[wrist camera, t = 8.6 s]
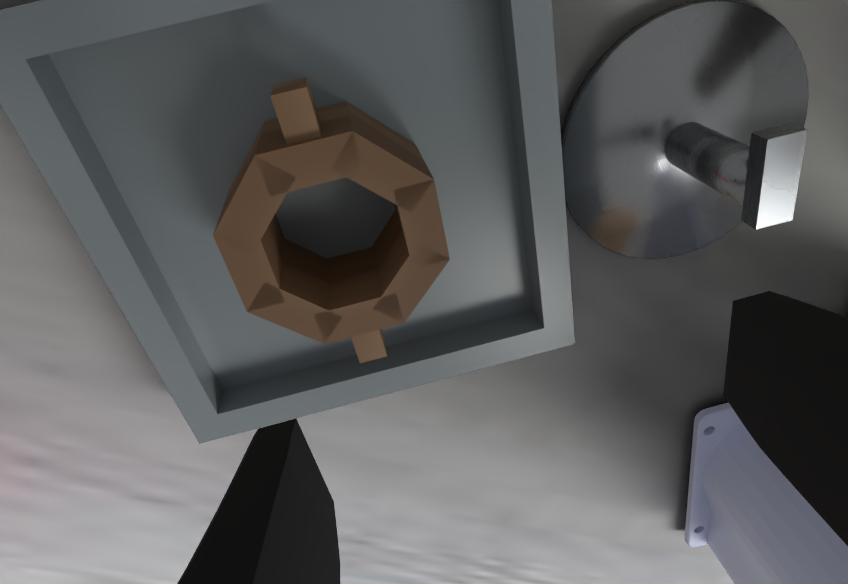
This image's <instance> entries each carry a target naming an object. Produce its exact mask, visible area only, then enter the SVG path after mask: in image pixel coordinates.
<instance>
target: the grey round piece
mask: <svg viewBox="0 0 848 584" xmlns="http://www.w3.org/2000/svg"><path fill="white" fill-rule="evenodd" d="M807 106H808V79H807V73H806V67H805V63H804V60H803V57H802V54H801V51H800V49H799V48H798V46H797V44H796V42H795V40H794V38H793V37H792V36H791V34H790V33H789V32H788V31H787V29H786V28H785V27H784V26H783V25H782V24H781V23H780V22H778V21H777V20H776V19H775V18H774V17H772V16H771V15H769V14H767V13H765V12H764V11H762V10H760V9H758V8H755V7H752V6H749V5H746V4H741V3H734V2H727V1H699V2H693V3H687V4H683V5H680V6H677V7H674V8H671V9H668V10H665V11H663V12H661V13H659V14H657V15H655V16H653V17H651V18H649V19H647V20H646V21H644V22H642V23H641V24H639V25H638V26H636V27H634V28H633V29H632V30H631V31H629V32H628V33H627V34H626V35H624V36H623V37H622V38H621V39H619V40H618V41H617V42H616V43H615V44H614V45H613V46H612V47H611V48H610V49H609V50H608V51H607V52H606V53H605V54H604V55H603V56H602V57H601V59H600V60H599V61H598V62H597V64H596V65H595V66H594V67H593V69H592V70H591V71H590V73H589V74H588V76H587V77H586V79H585V80H584V82H583V83H582V85H581V87H580V88H579V90H578V92H577V94H576V96H575V98H574V100H573V102H572V104H571V107H570V110H569V112H568V115H567V118H566V120H565V124H564V128H563V132H562V136H561V145H562V160H563V174H564V189H565V201H566V203H567V206H568V208H569V210H570V212H571V214H572V215H573V217H574V218H575V220H576V221H577V223H578V224H579V225H580V226H581V227H582V228H583V229H584V230H585V231H586V232H587V233H588V234H589V235H590V236H591V237H592V238H593V239H594V240H595V241H597V242H598V243H599V244H601V245H602V246H604V247H606V248H608V249H610V250H611V251H613V252H616V253H619V254H622V255H625V256H630V257H635V258H647V259H655V258H667V257H672V256H677V255H681V254H684V253H687V252H690V251H694V250H696V249H698V248H701V247H703V246H705V245H708V244H710V243H711V242H713V241H715V240H717V239H719V238H720V237H722V236H724V235H725V234H727V233H728V232H730V231H731V230H732V229H734V228H735V227H737V226H738V225H739V224H740V223H741V222H745V223H746V224H748V225H750V226H751V227H753V228H754V229H760V228H764V227H768V226H771V225H775V224H779V223H783V222H787V221H791V220H793V214H794V208H795V202H796V196H797V190H798V184H799V178H800V172H801V166H802V160H803V154H804V148H805V142H806V136H807V130H808V129H805V128H804V124H805V119H806V115H807Z"/></svg>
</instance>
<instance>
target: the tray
mask: <svg viewBox="0 0 848 584" xmlns="http://www.w3.org/2000/svg"><path fill="white" fill-rule="evenodd" d="M304 77H307V78H308V82H309V85H310V88H311V92H312V95H313V99H314V102H315V105H316V109H317V108H321V107H325V106H329V105H333V104H337V103H341V102H345V101H347V102H348V103H350V104H352V105H353V106H355V107H356V108H358V109H360V110H361V111H363V112H364V113H366V114H368V115H369V116H371V117H373V118H374V119H376V120H377V121H379V122H381V123H382V124H384V125H386V126H387V127H389V128H390V129H392V130H394V131H395V132H397V133H399V134H400V135H402V136H403V137H405V138H407V139H408V140H410V141H412V142H413V143H415V144H416V146H417V148H418V150H419V152H420V154H421V156H422V157H423V159H424V161H425V163H426V165H427V167H428V169H429V171H430V173H431V175H432V176H433V178H434V182H435V187H436V192H437V197H438V202H439V207H440V212H441V217H442V222H443V227H444V232H445V237H446V242H447V247H448V252H449V257H450V260H449V262H448V263H447V264H446V266H445V267H444V268H443V270H442V271H441V273H440V274H439V275H438V277H437V278H436V280H435V281H434V282H433V284H432V285H431V287H430V288H429V289H428V291H427V292H426V294H425V295H424V296H423V298H422V299H421V300H420V302H419V303H418V305H417V306H416V307H415V309H414V310H413V312H412V313H411V314H410V316H409V317H408V319H407V320H406V321H405V323H403V324H399V325H395V326H392V327H388V328H384V329H382V332H383V336H384V342H385V347H386V353H387V356H386V357H382V358H379V359H375V360H371V361H367V362H364V363H360V362H359V359H358V356H357V353H356V350H355V347H354V344H353V341H352V338H351V337H350V338H346V339H342V340H338V341H334V342H331V343H327V344H323V343H321V342H318V341H316V340H314V339H311V338H309V337H306V336H304V335H301V334H299V333H297V332H294V331H292V330H289V329H287V328H285V327H282V326H280V325H277V324H275V323H272V322H270V321H268V320H265V319H263V318H260V317H258V316H256V315H253V314H251V313H248V312H247V311H246V309H245V306H244V304H243V302H242V300H241V297H240V295H239V293H238V291H237V288H236V286H235V284H234V282H233V279H232V277H231V275H230V273H229V270H228V268H227V266H226V264H225V262H224V259H223V257H222V255H221V253H220V250H219V248H218V246H217V244H216V241H215V239H214V237H213V234H214V231H215V228H216V225H217V222H218V220H219V217H220V214H221V211H222V208H223V205H224V203H225V200H226V197H227V194H228V191H229V189H230V187H231V185H232V183H233V181H234V180H235V178H236V176H237V174H238V172H239V170H240V168H241V166H242V164H243V162H244V160H245V158H246V156H247V154H248V152H249V151H250V149H251V147H252V145H253V143H254V141H255V139H256V137H257V135H258V133H259V131H260V129H261V127H262V125H263V124H264V122H265V121H268V120H272V119H276V118H278V117H277V114H276V111H275V108H274V105H273V102H272V99H271V96H270V95H271V92H272V89H273V85H275V84H279V83H283V82H287V81H291V80H295V79H299V78H304ZM0 105H1V106H2V108H3V110H4V112H5V113H6V115H7V117H8V118H9V120H10V122H11V123H12V125H13V127H14V129H15V130H16V132H17V134H18V135H19V137H20V139H21V141H22V142H23V144H24V146H25V147H26V149H27V151H28V152H29V154H30V156H31V158H32V159H33V161H34V163H35V164H36V166H37V168H38V169H39V171H40V173H41V175H42V176H43V178H44V180H45V181H46V183H47V185H48V186H49V188H50V190H51V192H52V193H53V195H54V197H55V198H56V200H57V202H58V204H59V205H60V207H61V209H62V210H63V212H64V214H65V215H66V217H67V219H68V221H69V222H70V224H71V226H72V227H73V229H74V231H75V232H76V234H77V236H78V238H79V239H80V241H81V243H82V244H83V246H84V248H85V249H86V251H87V253H88V255H89V256H90V258H91V260H92V261H93V263H94V265H95V267H96V268H97V270H98V272H99V273H100V275H101V277H102V278H103V280H104V282H105V284H106V285H107V287H108V289H109V290H110V292H111V294H112V295H113V297H114V299H115V301H116V302H117V304H118V306H119V307H120V309H121V311H122V312H123V314H124V316H125V318H126V319H127V321H128V323H129V324H130V326H131V328H132V330H133V331H134V333H135V335H136V336H137V338H138V340H139V341H140V343H141V345H142V347H143V348H144V350H145V352H146V353H147V355H148V357H149V358H150V360H151V362H152V364H153V365H154V367H155V369H156V370H157V372H158V374H159V375H160V377H161V379H162V381H163V382H164V384H165V386H166V387H167V389H168V391H169V393H170V394H171V396H172V398H173V399H174V401H175V403H176V404H177V406H178V408H179V410H180V411H181V413H182V415H183V416H184V418H185V420H186V421H187V423H188V425H189V427H190V428H191V430H192V432H193V433H194V435H195V437H196V438H197V440H198V442H199V444H200V443H204V442H208V441H211V440H215V439H219V438H223V437H226V436H230V435H234V434H238V433H241V432H245V431H249V430H253V429H257V428H260V427H264V426H268V425H272V424H275V423H279V422H283V421H287V420H290V419H294V418H298V417H302V416H306V415H309V414H313V413H317V412H321V411H324V410H328V409H332V408H336V407H339V406H343V405H347V404H351V403H355V402H358V401H362V400H366V399H370V398H373V397H377V396H381V395H385V394H388V393H392V392H396V391H400V390H404V389H407V388H411V387H415V386H419V385H422V384H426V383H430V382H434V381H438V380H441V379H445V378H449V377H453V376H456V375H460V374H464V373H468V372H471V371H475V370H479V369H483V368H487V367H490V366H494V365H498V364H502V363H505V362H509V361H513V360H517V359H520V358H524V357H528V356H532V355H536V354H539V353H543V352H547V351H551V350H554V349H558V348H562V347H566V346H569V345H573V344H575V337H574V322H573V307H572V292H571V278H570V263H569V248H568V233H567V219H566V204H565V189H564V174H563V160H562V145H561V130H560V115H559V101H558V86H557V71H556V56H555V42H554V27H553V12H552V0H40V1H35V2H31V3H27V4H22V5H18V6H14V7H10V8H5V9H1V10H0ZM394 211H395V207H394V203H392V202H390V201H389V200H387V199H385V198H383V197H381V196H379V195H378V194H376V193H374V192H372V191H370V190H369V189H367V188H365V187H363V186H361V185H360V184H358V183H356V182H354V181H352V180H351V179H349V178H347V177H346V178H342V179H338V180H334V181H330V182H326V183H322V184H318V185H314V186H310V187H306V188H302V189H298V190H294V191H290V192H287V194H286V196H285V197H284V199H283V201H282V203H281V205H280V206H279V208H278V210H277V212H276V216H277V219H278V221H279V224H280V227H281V230H282V232H283V235H284V238H285V239H287V240H289V241H291V242H293V243H295V244H297V245H300V246H302V247H304V248H306V249H308V250H310V251H312V252H314V253H316V254H318V255H320V256H322V257H324V258H331V257H335V256H339V255H343V254H347V253H351V252H355V251H358V250H362V249H366V248H370V247H372V245H373V244H374V242H375V241H376V239H377V238H378V236H379V234H380V233H381V231H382V230H383V228H384V227H385V225H386V224H387V222H388V221H389V219H390V218H391V216H392V215H393V213H394Z"/></svg>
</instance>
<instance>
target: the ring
mask: <svg viewBox="0 0 848 584" xmlns="http://www.w3.org/2000/svg"><path fill="white" fill-rule="evenodd" d="M270 96H271V99H272V102H273V105H274V108H275V111H276V114H277V117H278V118H276V119H272V120H268V121H265V122H264V124H263V125H262V127H261V129H260V131H259V133H258V135H257V137H256V139H255V141H254V143H253V145H252V147H251V149H250V151H249V152H248V154H247V156H246V158H245V160H244V162H243V164H242V166H241V168H240V170H239V172H238V174H237V176H236V178H235V180H234V181H233V183H232V185H231V187H230V189H229V191H228V194H227V197H226V200H225V203H224V205H223V208H222V211H221V214H220V217H219V220H218V222H217V225H216V228H215V231H214V234H213V237H214V239H215V241H216V244H217V246H218V248H219V250H220V253H221V255H222V257H223V259H224V262H225V264H226V266H227V268H228V270H229V273H230V275H231V277H232V279H233V282H234V284H235V286H236V288H237V291H238V293H239V295H240V297H241V300H242V302H243V304H244V306H245V309H246V311H247V312H248V313H251V314H253V315H256V316H258V317H260V318H263V319H265V320H268V321H270V322H272V323H275V324H277V325H280V326H282V327H285V328H287V329H289V330H292V331H294V332H297V333H299V334H301V335H304V336H306V337H309V338H311V339H314V340H316V341H318V342H321V343H323V344H327V343H331V342H334V341H338V340H342V339H346V338H350V337H351V338H352V341H353V344H354V347H355V350H356V353H357V356H358V359H359V362H360V363H364V362H367V361H371V360H375V359H379V358H382V357H386V356H387V353H386V347H385V342H384V336H383V332H382V329H384V328H388V327H392V326H395V325H399V324H403V323H405V321H406V320H407V319H408V317H409V316H410V314H411V313H412V312H413V310H414V309H415V307H416V306H417V305H418V303H419V302H420V300H421V299H422V298H423V296H424V295H425V294H426V292H427V291H428V289H429V288H430V287H431V285H432V284H433V282H434V281H435V280H436V278H437V277H438V275H439V274H440V273H441V271H442V270H443V268H444V267H445V266H446V264H447V263H448V262H449V260H450V257H449V252H448V247H447V242H446V237H445V232H444V227H443V222H442V217H441V212H440V207H439V202H438V197H437V192H436V187H435V182H434V178H433V176H432V175H431V173H430V171H429V169H428V167H427V165H426V163H425V161H424V159H423V157H422V156H421V154H420V152H419V150H418V148H417V146H416V144H415V143H413V142H412V141H410V140H408V139H407V138H405V137H403V136H402V135H400V134H399V133H397V132H395V131H394V130H392V129H390V128H389V127H387V126H386V125H384V124H382V123H381V122H379V121H377V120H376V119H374V118H373V117H371V116H369V115H368V114H366V113H364V112H363V111H361V110H360V109H358V108H356V107H355V106H353V105H352V104H350V103H348V102H347V101H345V102H341V103H337V104H333V105H329V106H325V107H321V108H317V109H316V105H315V102H314V99H313V95H312V92H311V88H310V85H309V82H308V78H307V77H304V78H299V79H295V80H291V81H287V82H283V83H279V84H275V85H273V89H272V92H271V95H270ZM346 177H347V178H349V179H351V180H352V181H354V182H356V183H358V184H360V185H361V186H363V187H365V188H367V189H369V190H370V191H372V192H374V193H376V194H378V195H379V196H381V197H383V198H385V199H387V200H389V201H390V202H392V203H394V207H395V211H394V213H393V215H392V216H391V218H390V219H389V221H388V222H387V224H386V225H385V227H384V228H383V230H382V231H381V233H380V234H379V236H378V238H377V239H376V241H375V242H374V244H373V245H372V247H370V248H366V249H362V250H358V251H355V252H351V253H347V254H343V255H339V256H335V257H331V258H324V257H322V256H320V255H318V254H316V253H314V252H312V251H310V250H308V249H306V248H304V247H302V246H300V245H297V244H295V243H293V242H291V241H289V240H287V239H285V238H284V235H283V232H282V230H281V227H280V224H279V221H278V219H277V216H276V212H277V210H278V208H279V206H280V205H281V203H282V201H283V199H284V197H285V196H286V194H287V192H290V191H294V190H298V189H302V188H306V187H310V186H314V185H318V184H322V183H326V182H330V181H334V180H338V179H342V178H346Z"/></svg>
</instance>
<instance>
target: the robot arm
mask: <svg viewBox="0 0 848 584" xmlns="http://www.w3.org/2000/svg"><path fill="white" fill-rule="evenodd" d="M723 395H724V396H725V398H726V399H727V401H728V403H725V404H721V405H717V406H714V407H710V408H706V409H704V410H701V411H700V412H699V413H698V414H697V415H696V416H695V419H694V429H693V441H692V453H691V466H690V478H689V490H688V502H687V514H686V526H685V541H686V543H687V544H688V546H690V547H699V546H702V545H706V544H709V546H710V547H711V549H712V550H713V552H714V553H715V555H716V556H717V558H718V559H719V561H720V562H721V564H722V565H723V567H724V568H725V570H726V571H727V573H728V574H729V576H730V577H731V579H732V580H733V582H734V583H735V584H848V318H846V317H844V316H841V315H838V314H835V313H833V312H830V311H827V310H824V309H821V308H819V307H816V306H813V305H810V304H807V303H805V302H802V301H799V300H796V299H793V298H790V297H787V296H784V295H780V294H777V293H774V292H770V291H768V292H764V293H761V294H757V295H753V296H749V297H746V298H742V299H738V300H735V301H733V306H732V316H731V326H730V336H729V345H728V355H727V365H726V374H725V384H724V394H723ZM178 584H340V558H339V547H338V537H337V528H336V519H335V510H334V501H333V499H332V497H331V495H330V493H329V490H328V488H327V486H326V484H325V481H324V479H323V477H322V475H321V473H320V470H319V468H318V466H317V464H316V462H315V459H314V457H313V455H312V453H311V450H310V448H309V446H308V444H307V442H306V439H305V437H304V435H303V433H302V430H301V428H300V426H299V424H298V422H297V419H293V420H289V421H285V422H282V423H278V424H274V425H270V426H267V427H263V428H259V429H258V430H257V432H256V433H255V435H254V437H253V439H252V441H251V443H250V445H249V447H248V449H247V451H246V453H245V455H244V457H243V459H242V461H241V463H240V465H239V467H238V469H237V471H236V473H235V476H234V478H233V480H232V482H231V484H230V486H229V488H228V490H227V492H226V494H225V496H224V498H223V500H222V502H221V504H220V506H219V508H218V510H217V512H216V513H215V515H214V517H213V519H212V521H211V523H210V525H209V527H208V529H207V530H206V532H205V534H204V536H203V538H202V540H201V542H200V544H199V546H198V547H197V549H196V551H195V553H194V555H193V557H192V559H191V561H190V562H189V564H188V566H187V568H186V570H185V571H184V573H183V575H182V577H181V578H180V580H179V582H178Z"/></svg>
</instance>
